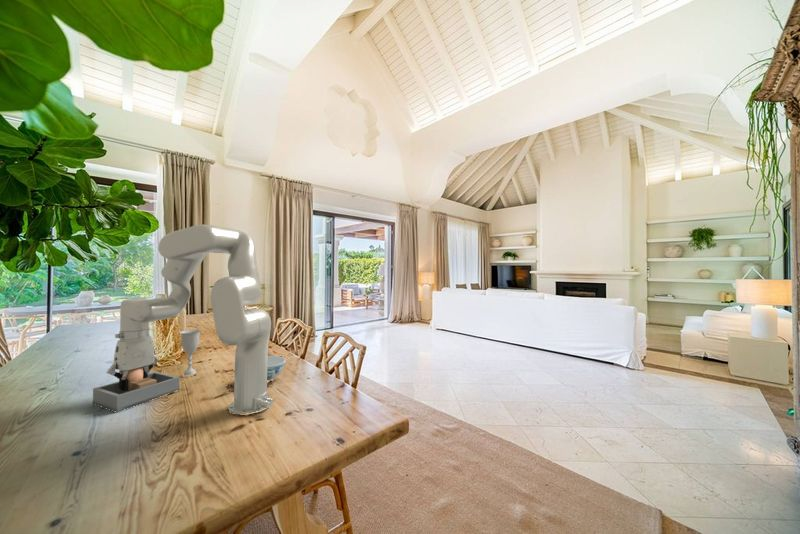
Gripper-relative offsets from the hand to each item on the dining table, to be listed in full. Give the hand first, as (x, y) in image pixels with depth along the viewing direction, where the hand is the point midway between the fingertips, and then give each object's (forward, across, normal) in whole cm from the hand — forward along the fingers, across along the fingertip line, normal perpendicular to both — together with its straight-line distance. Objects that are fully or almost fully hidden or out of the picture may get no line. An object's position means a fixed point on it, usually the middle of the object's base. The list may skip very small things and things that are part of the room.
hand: (133, 386), depth 106 cm
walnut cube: (+2, 0, -6) cm, 6 cm away
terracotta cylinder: (+1, 0, 0) cm, 1 cm away
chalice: (+3, +21, +3) cm, 21 cm away
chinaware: (+3, +30, -29) cm, 42 cm away
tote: (+3, 0, -3) cm, 4 cm away
